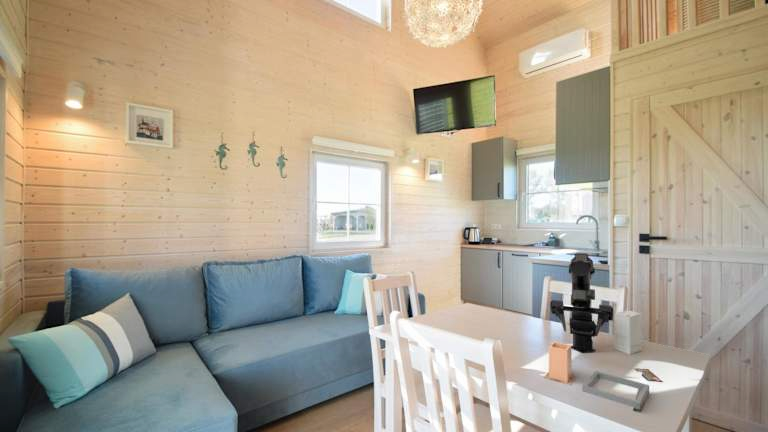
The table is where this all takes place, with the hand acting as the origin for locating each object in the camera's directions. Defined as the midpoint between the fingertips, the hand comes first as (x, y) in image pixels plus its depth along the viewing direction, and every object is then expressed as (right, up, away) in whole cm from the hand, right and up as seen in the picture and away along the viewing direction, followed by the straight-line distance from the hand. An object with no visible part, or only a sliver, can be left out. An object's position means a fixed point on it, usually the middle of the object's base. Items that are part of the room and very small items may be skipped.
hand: (580, 333), depth 117 cm
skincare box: (+30, -14, +20) cm, 39 cm away
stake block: (-8, -14, -3) cm, 17 cm away
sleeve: (-8, -13, -3) cm, 16 cm away
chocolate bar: (+22, -14, 0) cm, 26 cm away
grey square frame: (+4, -14, -12) cm, 19 cm away
